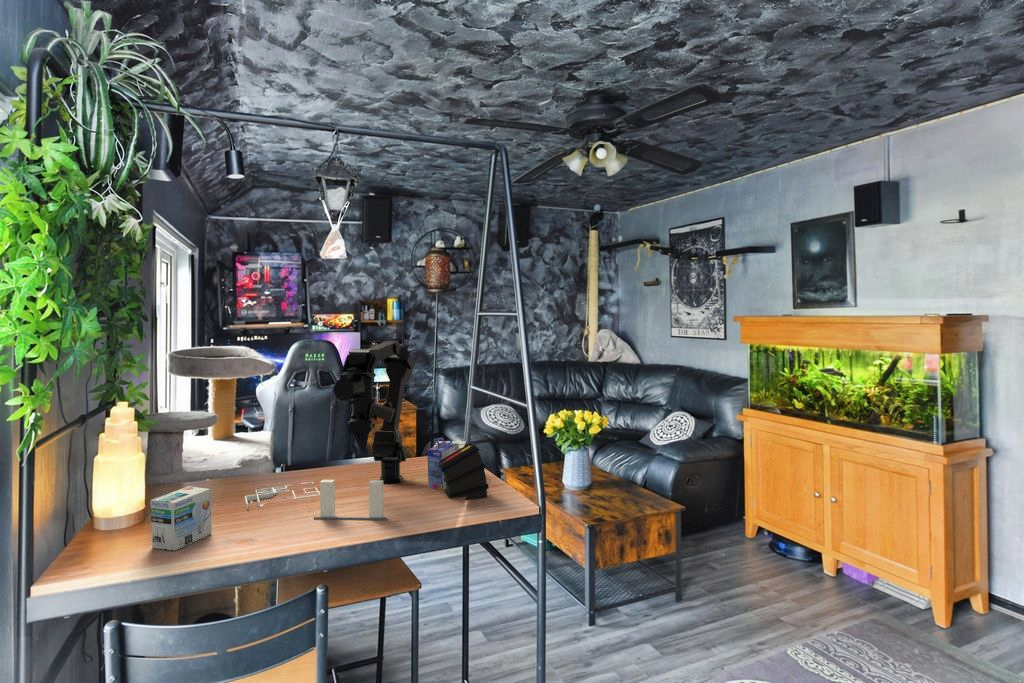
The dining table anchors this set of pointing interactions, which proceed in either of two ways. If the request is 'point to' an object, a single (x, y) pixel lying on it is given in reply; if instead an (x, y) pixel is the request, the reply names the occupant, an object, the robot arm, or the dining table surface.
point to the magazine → (464, 473)
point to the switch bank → (350, 518)
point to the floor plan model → (273, 493)
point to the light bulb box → (181, 518)
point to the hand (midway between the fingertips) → (363, 451)
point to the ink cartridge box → (434, 457)
